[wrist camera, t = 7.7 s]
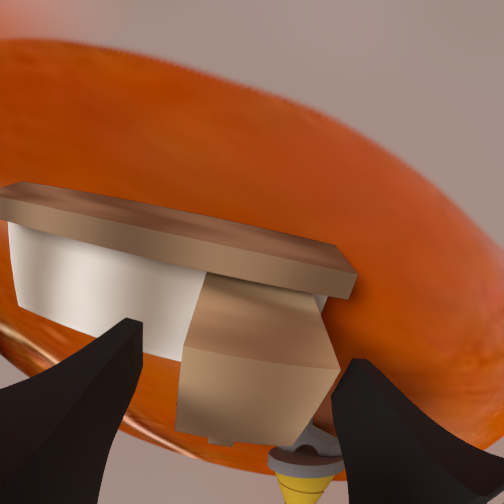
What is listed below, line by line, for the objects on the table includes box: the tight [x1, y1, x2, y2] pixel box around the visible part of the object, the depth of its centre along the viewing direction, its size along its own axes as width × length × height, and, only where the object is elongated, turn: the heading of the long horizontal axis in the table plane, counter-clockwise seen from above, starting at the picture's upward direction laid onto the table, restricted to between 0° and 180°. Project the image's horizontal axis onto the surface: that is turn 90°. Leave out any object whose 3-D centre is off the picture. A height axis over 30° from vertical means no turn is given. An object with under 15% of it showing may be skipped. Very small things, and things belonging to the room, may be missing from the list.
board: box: [0, 182, 358, 362], centre depth 11 cm, size 16×7×3 cm, turn 77°
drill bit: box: [268, 418, 345, 504], centre depth 14 cm, size 5×5×10 cm
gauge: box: [175, 272, 341, 447], centre depth 10 cm, size 4×8×5 cm, turn 167°
